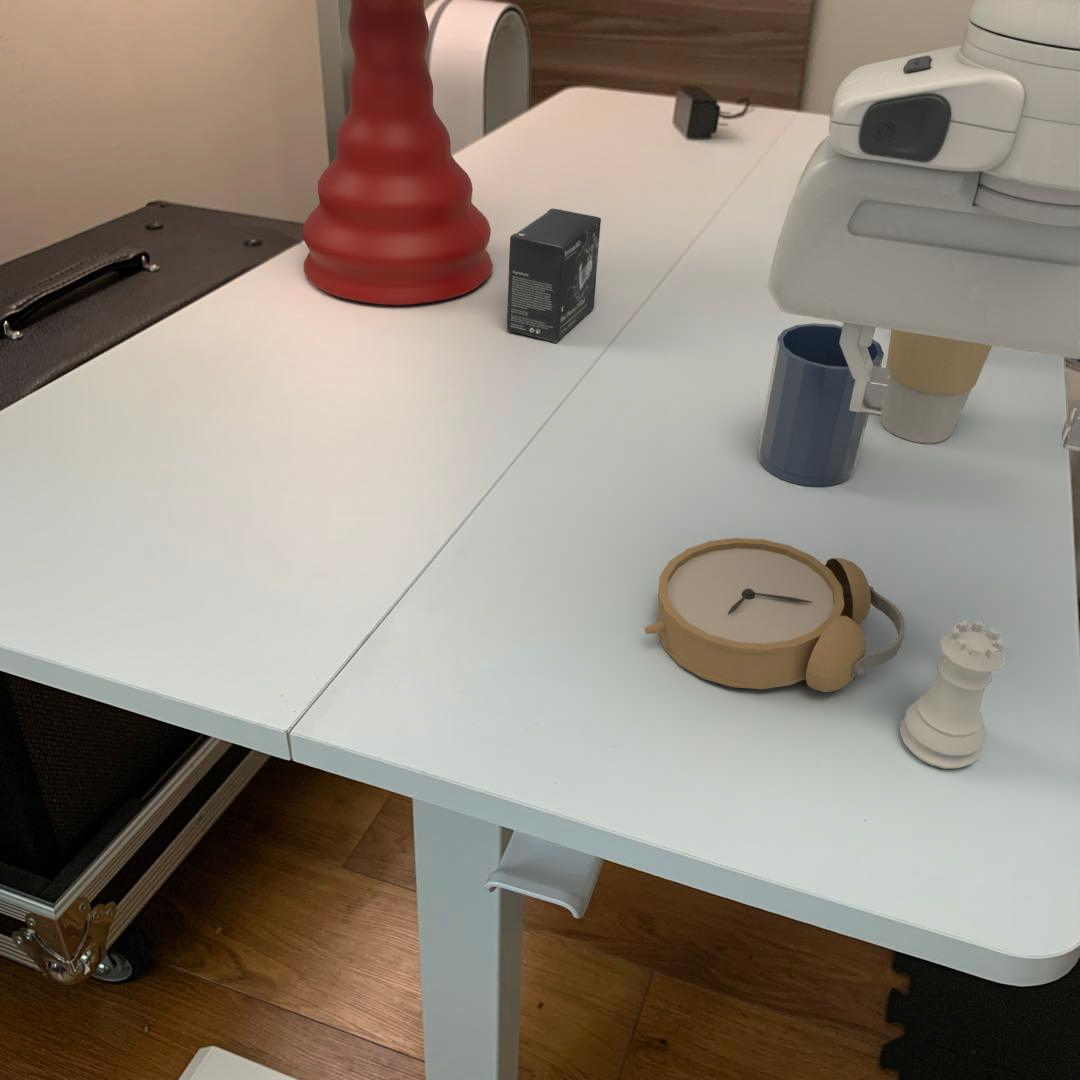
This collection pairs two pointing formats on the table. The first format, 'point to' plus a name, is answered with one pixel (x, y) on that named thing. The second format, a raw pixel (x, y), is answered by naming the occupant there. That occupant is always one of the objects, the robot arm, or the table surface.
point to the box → (552, 274)
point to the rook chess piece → (954, 699)
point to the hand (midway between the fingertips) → (970, 426)
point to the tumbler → (812, 408)
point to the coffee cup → (929, 384)
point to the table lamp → (394, 178)
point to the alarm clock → (768, 616)
